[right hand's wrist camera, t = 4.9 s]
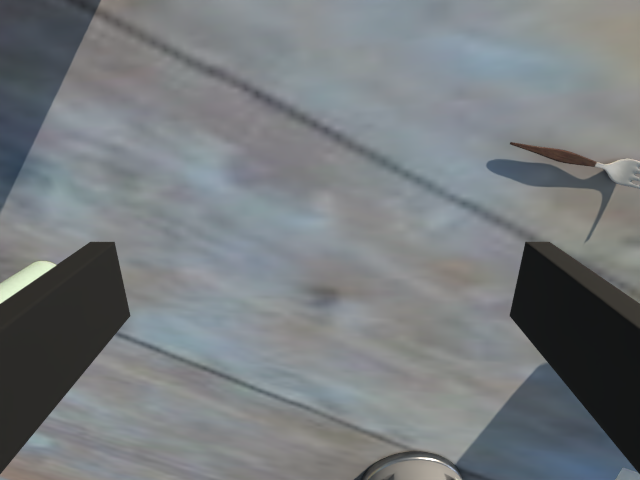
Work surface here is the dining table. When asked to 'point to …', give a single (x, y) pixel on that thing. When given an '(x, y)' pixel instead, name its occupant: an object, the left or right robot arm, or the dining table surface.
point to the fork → (592, 164)
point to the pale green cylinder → (23, 278)
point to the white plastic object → (628, 475)
